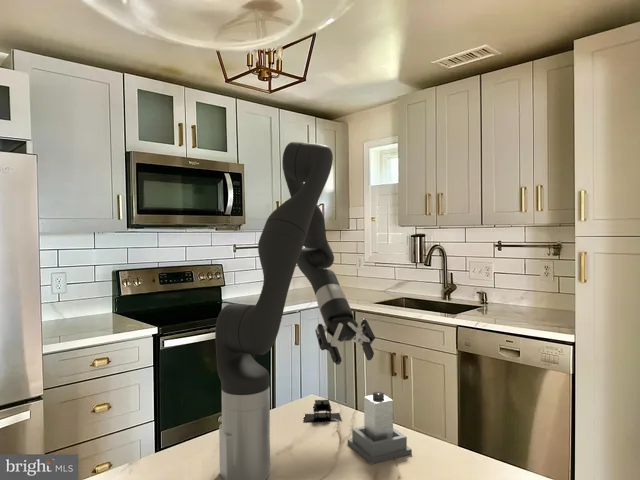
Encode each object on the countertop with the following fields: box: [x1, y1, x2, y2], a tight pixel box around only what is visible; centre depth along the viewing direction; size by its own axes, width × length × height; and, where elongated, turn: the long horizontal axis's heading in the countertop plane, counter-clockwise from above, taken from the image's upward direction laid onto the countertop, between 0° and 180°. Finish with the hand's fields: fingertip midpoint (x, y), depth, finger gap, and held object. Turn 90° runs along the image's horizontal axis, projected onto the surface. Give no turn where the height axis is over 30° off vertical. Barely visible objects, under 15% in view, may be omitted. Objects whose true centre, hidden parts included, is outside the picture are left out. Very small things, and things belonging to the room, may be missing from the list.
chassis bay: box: [347, 425, 413, 465], centre depth 100 cm, size 10×10×4 cm
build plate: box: [302, 399, 343, 424], centre depth 117 cm, size 12×7×5 cm, turn 93°
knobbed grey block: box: [363, 391, 394, 442], centre depth 100 cm, size 4×4×11 cm
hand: (355, 360), depth 109 cm, fingers open, 8 cm apart
